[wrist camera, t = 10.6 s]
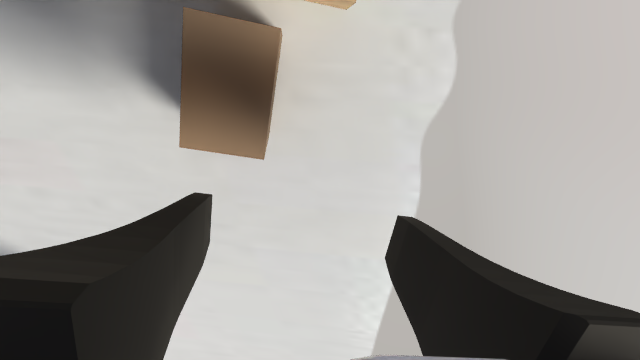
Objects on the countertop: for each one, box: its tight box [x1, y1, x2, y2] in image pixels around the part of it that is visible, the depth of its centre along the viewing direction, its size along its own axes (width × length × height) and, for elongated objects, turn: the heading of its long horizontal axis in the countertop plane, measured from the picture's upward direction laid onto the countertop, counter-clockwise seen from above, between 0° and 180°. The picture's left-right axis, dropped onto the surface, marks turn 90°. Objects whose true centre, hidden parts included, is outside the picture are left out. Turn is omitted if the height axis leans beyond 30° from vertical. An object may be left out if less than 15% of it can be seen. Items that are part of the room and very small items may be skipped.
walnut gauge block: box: [179, 7, 282, 160], centre depth 16 cm, size 6×4×5 cm, turn 169°
